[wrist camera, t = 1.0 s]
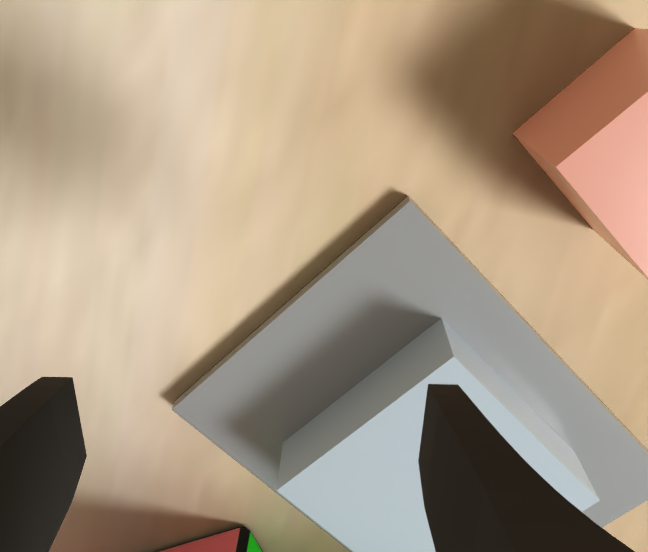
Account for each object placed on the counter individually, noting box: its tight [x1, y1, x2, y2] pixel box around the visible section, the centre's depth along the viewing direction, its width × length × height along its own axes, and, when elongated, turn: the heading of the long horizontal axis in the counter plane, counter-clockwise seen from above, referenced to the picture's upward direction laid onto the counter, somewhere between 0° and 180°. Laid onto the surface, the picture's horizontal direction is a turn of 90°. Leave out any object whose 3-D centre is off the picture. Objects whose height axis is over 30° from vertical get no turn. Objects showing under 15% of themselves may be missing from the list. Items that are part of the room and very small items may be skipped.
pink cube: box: [513, 28, 648, 279], centre depth 18 cm, size 4×4×4 cm
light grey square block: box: [277, 318, 600, 552], centre depth 23 cm, size 8×8×3 cm
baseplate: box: [172, 196, 648, 552], centre depth 24 cm, size 16×12×1 cm
